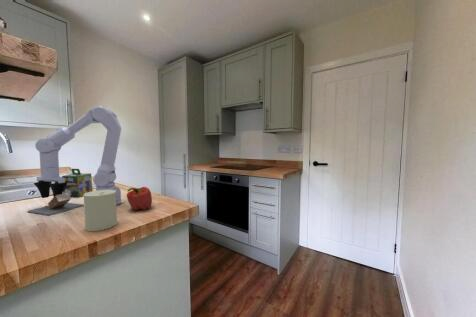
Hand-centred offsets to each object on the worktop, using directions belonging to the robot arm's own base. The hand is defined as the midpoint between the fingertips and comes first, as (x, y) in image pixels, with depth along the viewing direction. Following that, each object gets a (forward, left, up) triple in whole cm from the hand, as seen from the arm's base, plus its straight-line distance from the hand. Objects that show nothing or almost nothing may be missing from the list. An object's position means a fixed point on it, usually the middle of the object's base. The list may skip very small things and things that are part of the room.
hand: (51, 198), depth 84 cm
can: (-37, +7, -5) cm, 38 cm away
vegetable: (-36, -11, -5) cm, 38 cm away
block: (-3, 0, -3) cm, 4 cm away
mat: (-3, 0, -4) cm, 5 cm away
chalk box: (+13, -19, -5) cm, 23 cm away
